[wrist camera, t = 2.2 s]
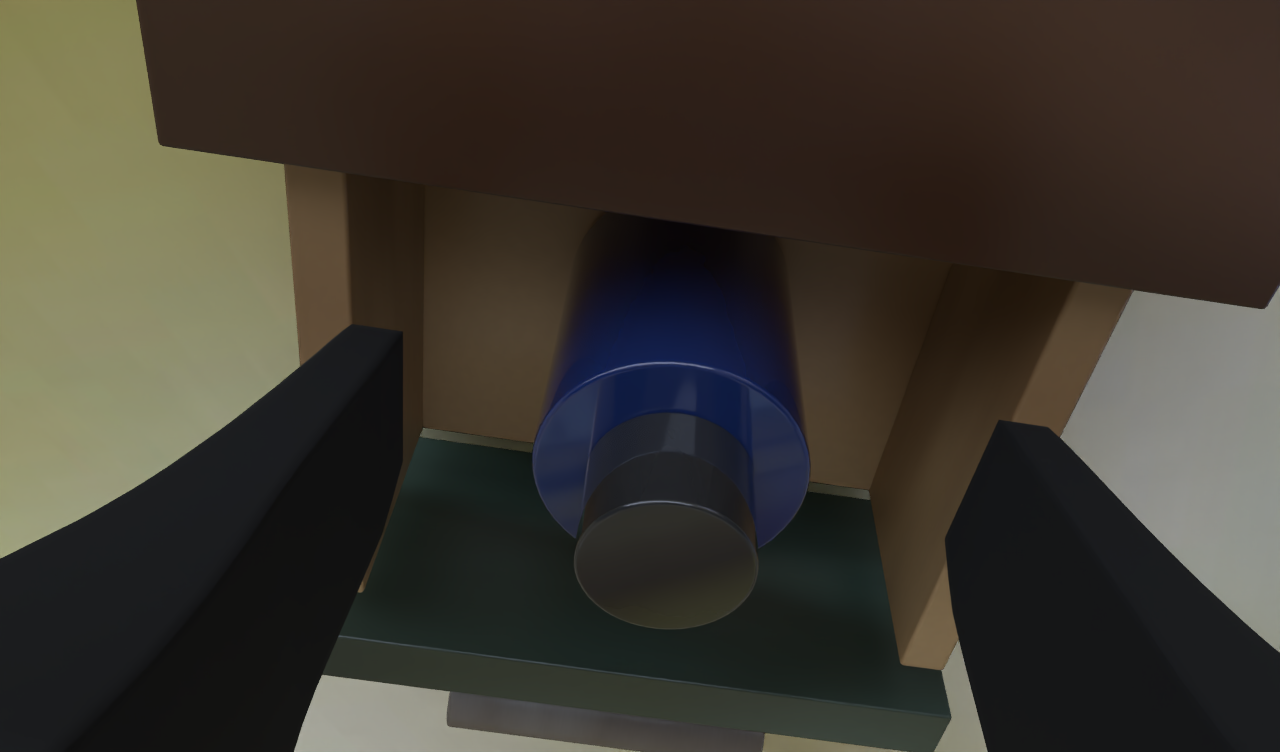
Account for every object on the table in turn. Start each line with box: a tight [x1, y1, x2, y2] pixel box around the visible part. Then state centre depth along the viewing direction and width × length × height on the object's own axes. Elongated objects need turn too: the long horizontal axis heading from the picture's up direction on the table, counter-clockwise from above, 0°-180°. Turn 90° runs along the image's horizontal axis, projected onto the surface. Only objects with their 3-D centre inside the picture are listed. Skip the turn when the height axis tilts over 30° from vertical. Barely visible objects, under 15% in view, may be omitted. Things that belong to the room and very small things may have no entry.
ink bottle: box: [532, 212, 811, 629], centre depth 16 cm, size 4×4×7 cm
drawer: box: [284, 164, 1133, 752], centre depth 18 cm, size 18×12×6 cm
